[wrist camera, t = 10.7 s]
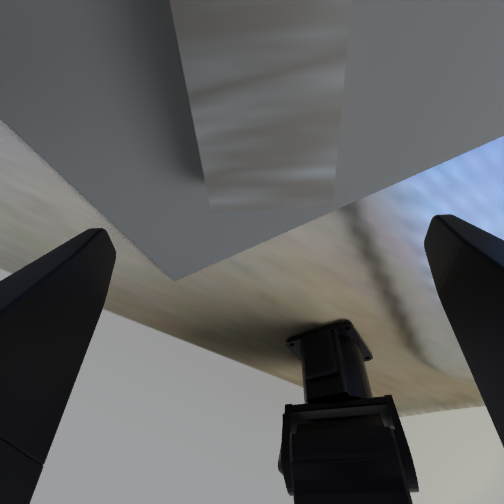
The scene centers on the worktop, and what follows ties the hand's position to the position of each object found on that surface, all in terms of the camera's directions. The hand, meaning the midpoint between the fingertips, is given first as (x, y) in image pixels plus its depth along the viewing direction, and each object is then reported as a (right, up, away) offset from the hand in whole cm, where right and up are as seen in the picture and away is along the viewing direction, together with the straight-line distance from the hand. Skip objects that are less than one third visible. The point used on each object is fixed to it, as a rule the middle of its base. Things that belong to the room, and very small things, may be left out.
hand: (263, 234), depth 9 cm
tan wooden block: (+1, +3, +9) cm, 10 cm away
